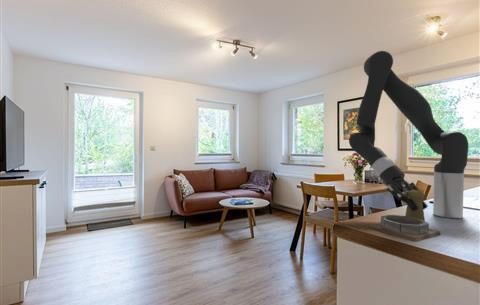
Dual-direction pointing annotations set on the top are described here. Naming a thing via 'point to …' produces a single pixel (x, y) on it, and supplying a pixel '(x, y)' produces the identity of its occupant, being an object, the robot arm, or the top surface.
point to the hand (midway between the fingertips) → (420, 208)
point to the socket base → (405, 235)
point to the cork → (417, 198)
